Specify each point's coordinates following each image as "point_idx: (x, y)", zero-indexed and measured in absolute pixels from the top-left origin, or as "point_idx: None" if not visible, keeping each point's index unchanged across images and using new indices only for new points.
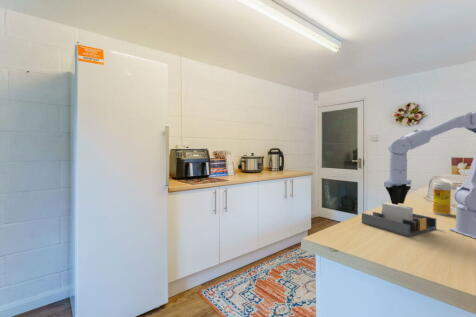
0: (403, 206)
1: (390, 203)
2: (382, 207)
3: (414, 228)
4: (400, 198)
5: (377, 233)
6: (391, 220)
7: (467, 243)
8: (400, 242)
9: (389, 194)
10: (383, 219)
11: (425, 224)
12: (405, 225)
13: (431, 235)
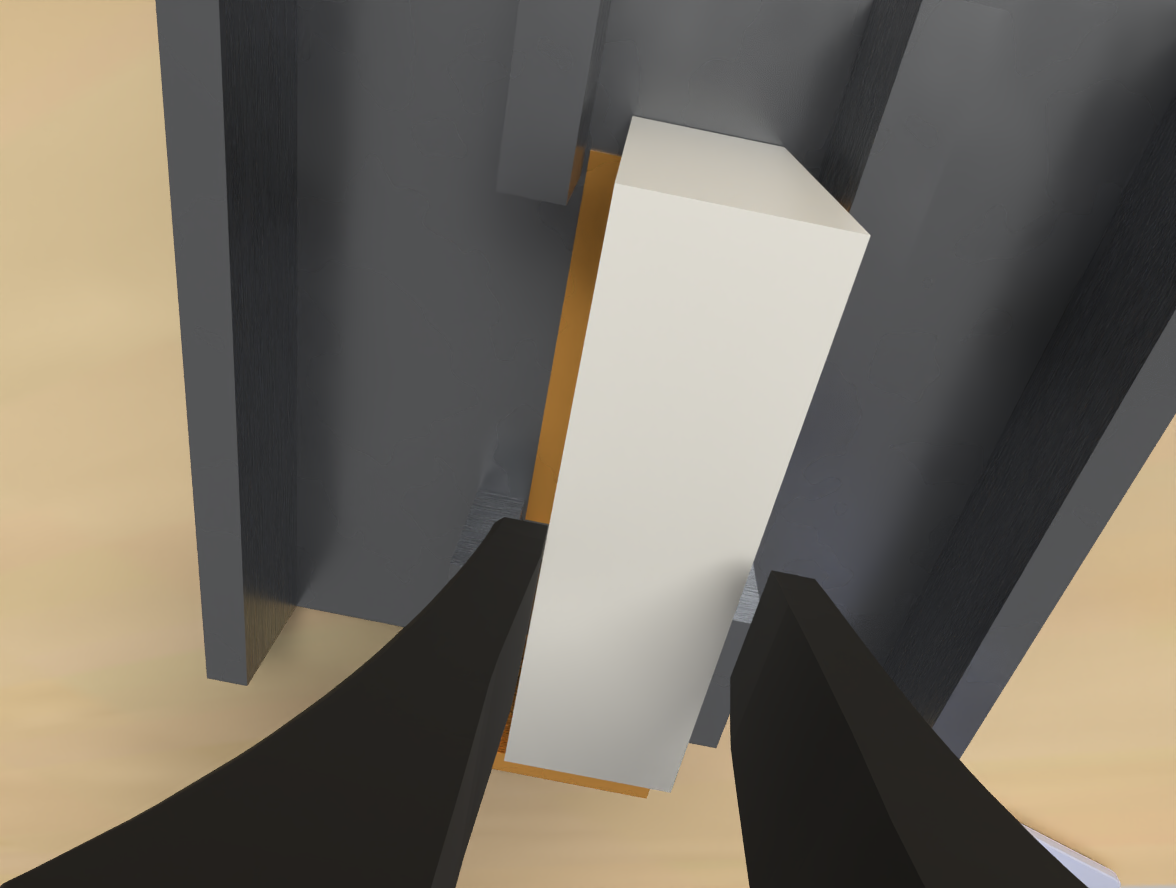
0: (655, 666)
1: (813, 361)
2: (620, 167)
3: None
4: (772, 748)
5: (29, 306)
6: (230, 469)
7: (570, 881)
8: (35, 570)
9: (338, 694)
10: (186, 348)
11: None
12: (209, 643)
13: None
